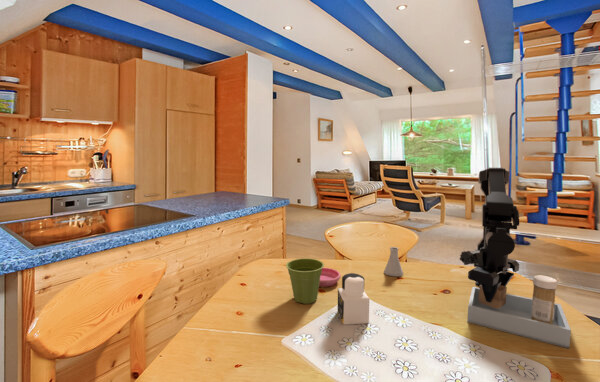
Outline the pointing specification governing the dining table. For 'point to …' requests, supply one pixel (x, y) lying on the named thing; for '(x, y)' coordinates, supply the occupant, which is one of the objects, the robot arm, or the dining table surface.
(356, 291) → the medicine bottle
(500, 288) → the walnut cube
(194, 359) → the dining table surface
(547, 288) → the sprinkles bottle
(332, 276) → the saucer
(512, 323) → the tray
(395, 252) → the flask
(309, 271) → the plant pot
